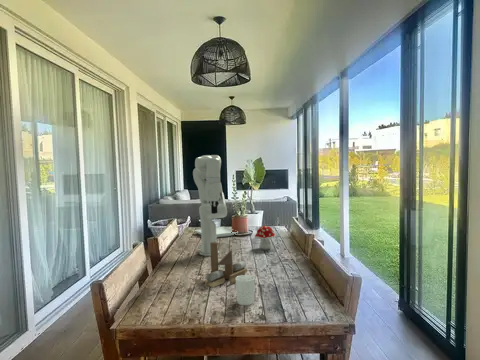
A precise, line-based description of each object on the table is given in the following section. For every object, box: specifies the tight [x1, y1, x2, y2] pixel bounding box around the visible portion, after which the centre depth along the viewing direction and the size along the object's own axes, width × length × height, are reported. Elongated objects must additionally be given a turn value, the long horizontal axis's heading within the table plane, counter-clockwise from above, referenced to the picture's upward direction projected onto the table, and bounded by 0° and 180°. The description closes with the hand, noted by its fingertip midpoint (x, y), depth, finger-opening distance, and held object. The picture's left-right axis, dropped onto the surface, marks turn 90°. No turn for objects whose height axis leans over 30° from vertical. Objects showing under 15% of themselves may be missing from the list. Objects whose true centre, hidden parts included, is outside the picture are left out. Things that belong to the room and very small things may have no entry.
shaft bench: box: [204, 260, 248, 288], centre depth 171 cm, size 10×26×6 cm, turn 142°
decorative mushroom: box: [254, 225, 276, 251], centre depth 229 cm, size 14×14×15 cm
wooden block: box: [210, 241, 234, 280], centre depth 172 cm, size 4×11×18 cm, turn 87°
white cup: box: [235, 274, 256, 306], centre depth 142 cm, size 8×8×10 cm
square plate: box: [194, 226, 239, 238], centre depth 277 cm, size 27×27×4 cm
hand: (214, 213), depth 194 cm, fingers closed
